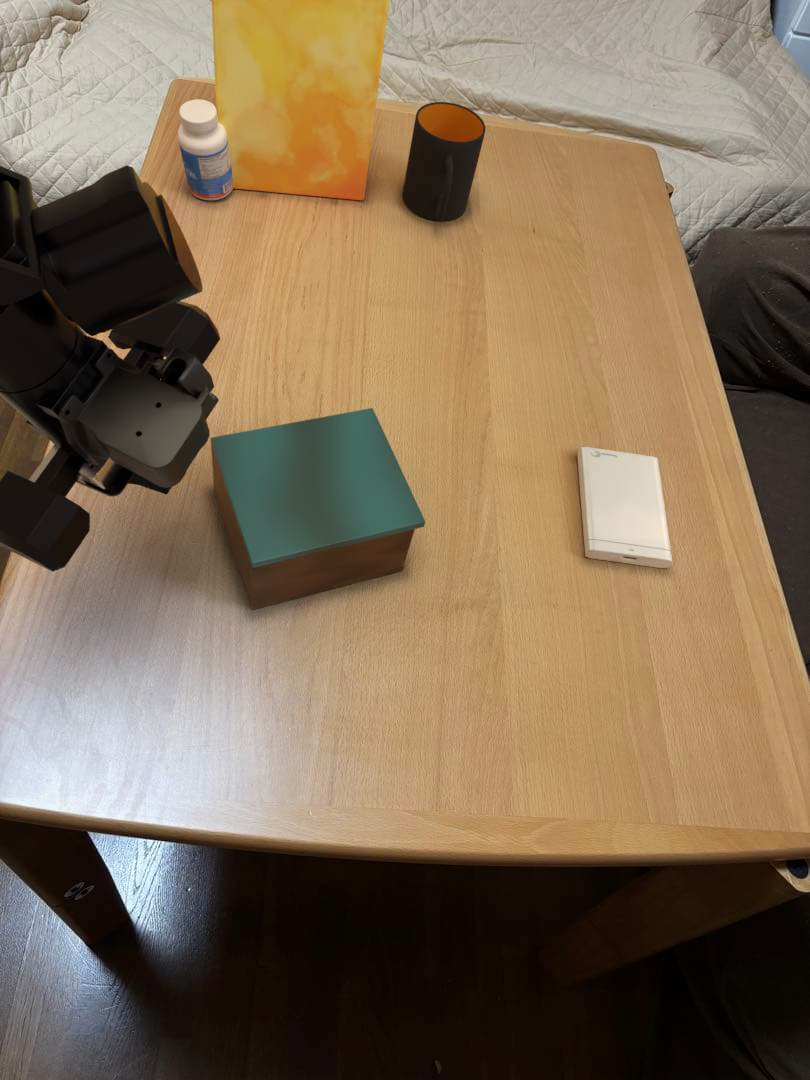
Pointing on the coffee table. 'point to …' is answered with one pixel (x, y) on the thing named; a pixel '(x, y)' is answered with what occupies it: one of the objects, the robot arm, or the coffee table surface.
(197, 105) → the pill bottle
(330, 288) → the coffee table surface
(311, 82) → the mottled yellow carton
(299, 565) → the box
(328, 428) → the lid
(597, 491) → the hard drive
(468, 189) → the mug
